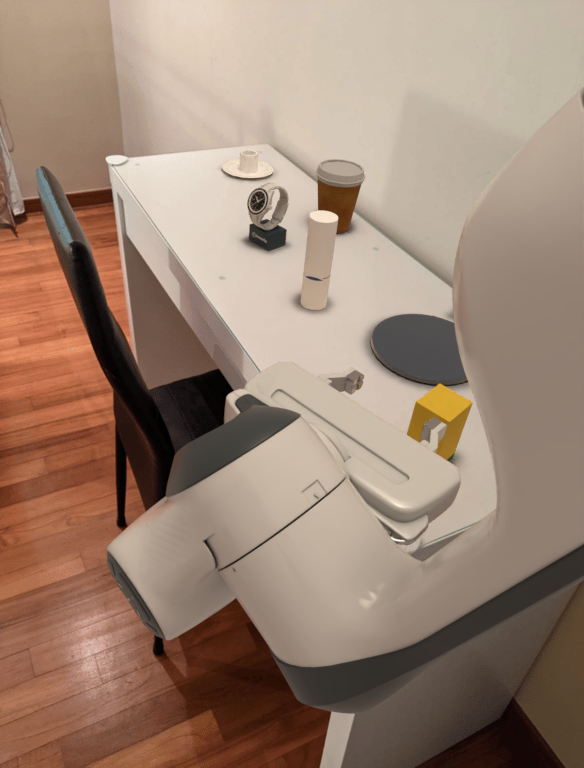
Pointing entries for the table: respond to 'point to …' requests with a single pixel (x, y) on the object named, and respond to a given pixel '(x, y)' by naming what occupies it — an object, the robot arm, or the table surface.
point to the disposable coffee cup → (339, 189)
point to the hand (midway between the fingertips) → (396, 400)
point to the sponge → (441, 417)
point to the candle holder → (247, 166)
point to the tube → (318, 259)
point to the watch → (267, 230)
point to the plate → (419, 348)
